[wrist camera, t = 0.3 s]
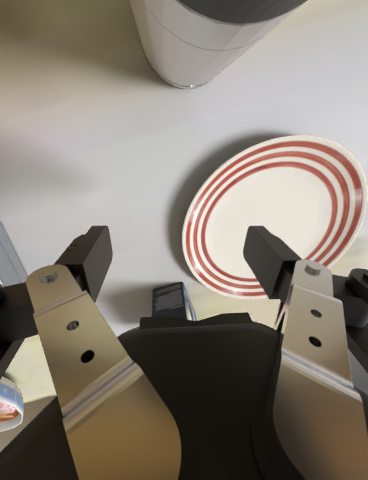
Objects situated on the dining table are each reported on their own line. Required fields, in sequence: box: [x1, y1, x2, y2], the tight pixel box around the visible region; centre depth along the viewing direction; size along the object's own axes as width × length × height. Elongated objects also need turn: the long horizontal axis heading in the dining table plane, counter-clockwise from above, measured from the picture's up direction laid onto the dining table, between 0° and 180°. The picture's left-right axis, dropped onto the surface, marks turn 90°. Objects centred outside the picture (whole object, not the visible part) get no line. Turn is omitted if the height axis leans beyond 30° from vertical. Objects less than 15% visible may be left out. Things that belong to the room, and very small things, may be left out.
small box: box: [152, 282, 197, 321], centre depth 35 cm, size 11×6×10 cm, turn 16°
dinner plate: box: [182, 135, 368, 299], centre depth 31 cm, size 28×27×3 cm
